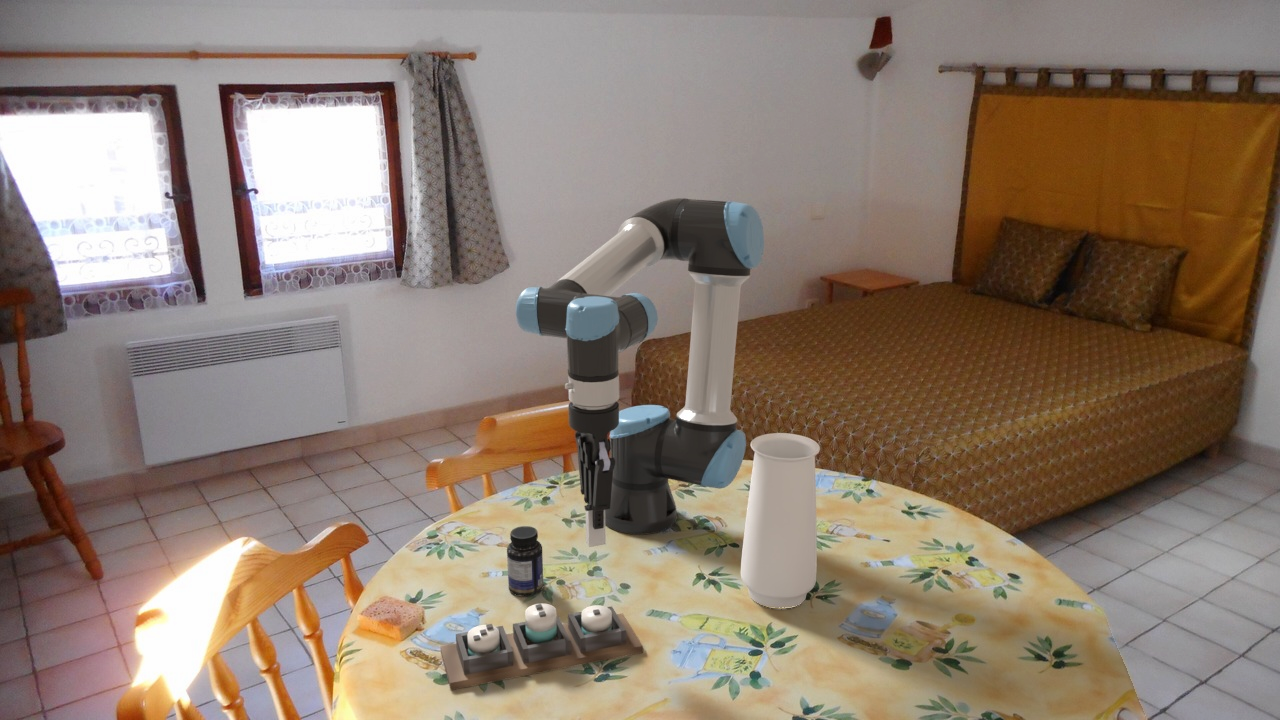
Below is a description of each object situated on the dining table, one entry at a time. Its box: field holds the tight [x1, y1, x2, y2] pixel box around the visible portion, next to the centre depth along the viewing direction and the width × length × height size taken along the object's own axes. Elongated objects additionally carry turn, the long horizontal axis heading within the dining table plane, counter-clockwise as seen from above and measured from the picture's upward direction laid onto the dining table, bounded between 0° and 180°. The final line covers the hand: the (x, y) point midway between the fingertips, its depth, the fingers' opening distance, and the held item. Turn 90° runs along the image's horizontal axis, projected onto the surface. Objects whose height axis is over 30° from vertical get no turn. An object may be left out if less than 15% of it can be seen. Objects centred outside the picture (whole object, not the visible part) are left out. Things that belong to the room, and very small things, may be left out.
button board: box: [439, 606, 644, 691], centre depth 153 cm, size 30×10×4 cm, turn 109°
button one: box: [581, 604, 612, 635], centre depth 155 cm, size 5×5×4 cm
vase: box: [740, 432, 821, 608], centre depth 167 cm, size 13×13×28 cm
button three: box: [467, 623, 500, 656], centre depth 150 cm, size 5×5×4 cm
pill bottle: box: [506, 525, 544, 597], centre depth 171 cm, size 6×6×11 cm
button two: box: [524, 603, 557, 643], centre depth 152 cm, size 5×5×4 cm
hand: (595, 543), depth 153 cm, fingers closed
